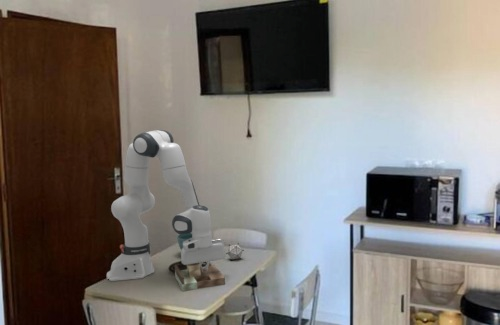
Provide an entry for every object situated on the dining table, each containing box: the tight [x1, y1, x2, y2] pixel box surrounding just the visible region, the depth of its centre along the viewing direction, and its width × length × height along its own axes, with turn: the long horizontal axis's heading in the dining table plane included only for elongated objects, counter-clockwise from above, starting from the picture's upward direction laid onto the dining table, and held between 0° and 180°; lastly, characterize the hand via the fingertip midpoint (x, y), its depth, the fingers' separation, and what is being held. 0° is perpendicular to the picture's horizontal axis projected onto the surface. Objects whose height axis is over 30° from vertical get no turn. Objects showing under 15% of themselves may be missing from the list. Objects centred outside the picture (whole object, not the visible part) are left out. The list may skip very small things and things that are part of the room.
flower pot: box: [176, 233, 192, 251], centre depth 268 cm, size 16×16×11 cm
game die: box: [225, 242, 245, 262], centre depth 256 cm, size 9×8×10 cm
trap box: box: [173, 264, 226, 292], centre depth 228 cm, size 19×19×6 cm
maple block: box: [186, 263, 201, 278], centre depth 227 cm, size 5×5×5 cm
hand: (204, 271), depth 229 cm, fingers closed
